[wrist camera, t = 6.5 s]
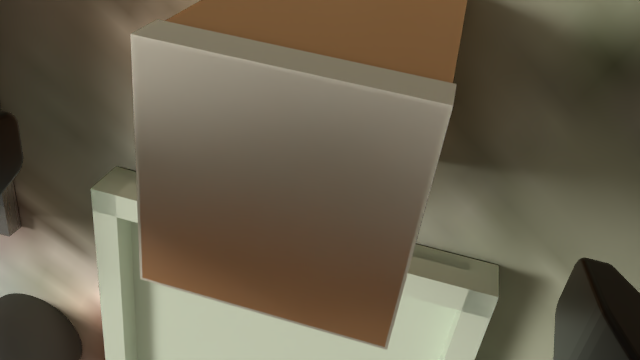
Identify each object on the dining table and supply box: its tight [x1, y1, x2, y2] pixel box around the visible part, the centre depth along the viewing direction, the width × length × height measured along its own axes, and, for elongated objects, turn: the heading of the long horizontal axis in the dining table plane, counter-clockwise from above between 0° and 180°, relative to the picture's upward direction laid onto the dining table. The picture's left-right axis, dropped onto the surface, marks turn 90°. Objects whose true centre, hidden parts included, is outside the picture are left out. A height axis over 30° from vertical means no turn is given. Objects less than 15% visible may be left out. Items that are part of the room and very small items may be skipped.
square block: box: [131, 0, 467, 350], centre depth 12 cm, size 5×5×7 cm
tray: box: [91, 167, 499, 360], centre depth 20 cm, size 12×11×1 cm
